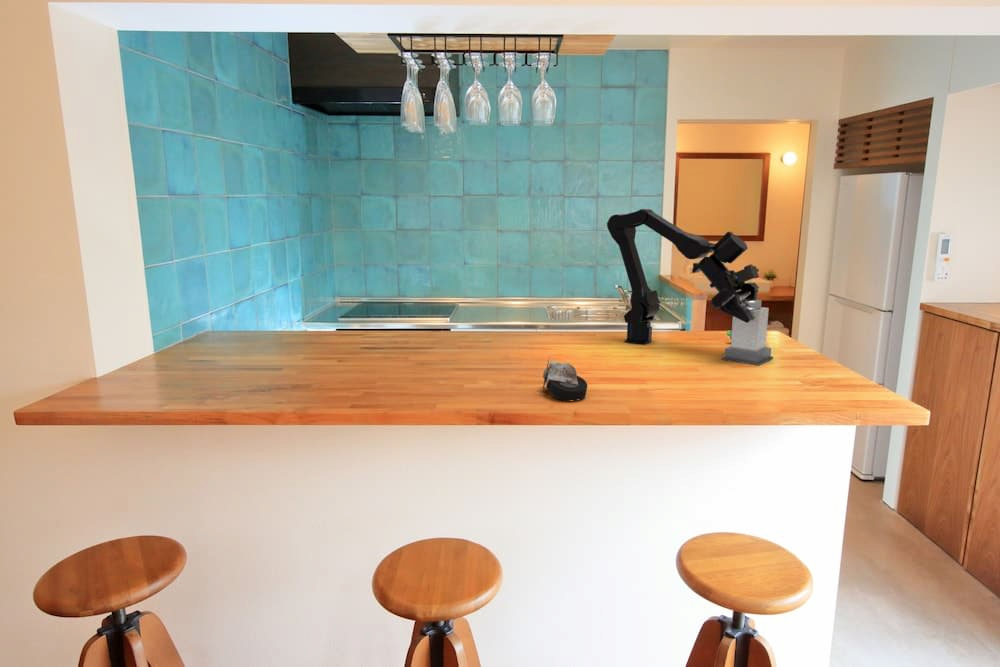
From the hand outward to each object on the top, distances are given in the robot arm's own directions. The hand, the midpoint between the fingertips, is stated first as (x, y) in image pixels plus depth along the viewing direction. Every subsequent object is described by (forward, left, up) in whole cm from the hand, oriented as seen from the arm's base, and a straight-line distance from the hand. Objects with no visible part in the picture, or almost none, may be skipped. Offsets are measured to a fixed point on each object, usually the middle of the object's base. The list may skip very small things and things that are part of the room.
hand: (755, 319), depth 170 cm
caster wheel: (-28, -55, -11) cm, 63 cm away
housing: (-1, 0, -8) cm, 8 cm away
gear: (-6, +19, -11) cm, 23 cm away
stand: (-1, 0, -11) cm, 11 cm away
